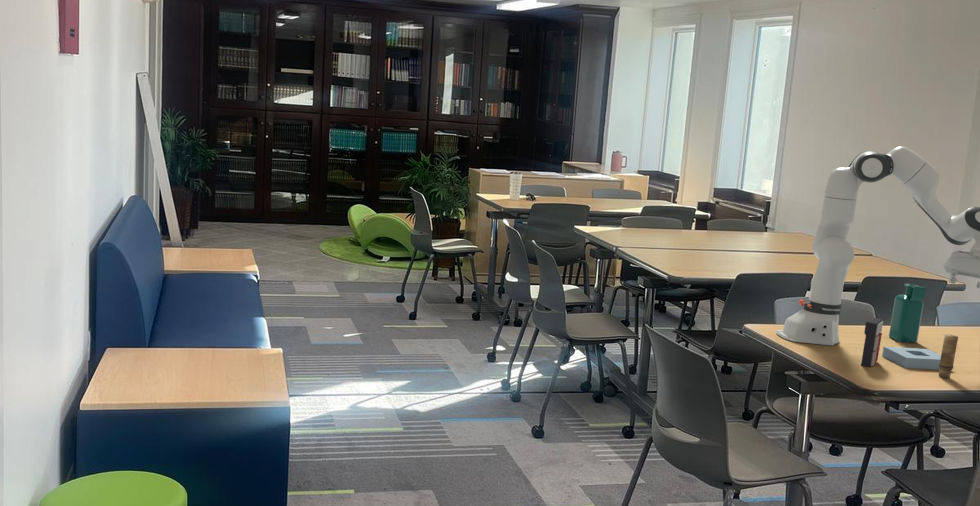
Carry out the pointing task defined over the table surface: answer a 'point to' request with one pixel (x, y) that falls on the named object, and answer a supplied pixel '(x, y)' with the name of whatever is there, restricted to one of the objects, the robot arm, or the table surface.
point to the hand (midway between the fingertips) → (965, 284)
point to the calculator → (872, 341)
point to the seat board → (913, 357)
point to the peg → (947, 356)
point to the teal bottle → (907, 314)
